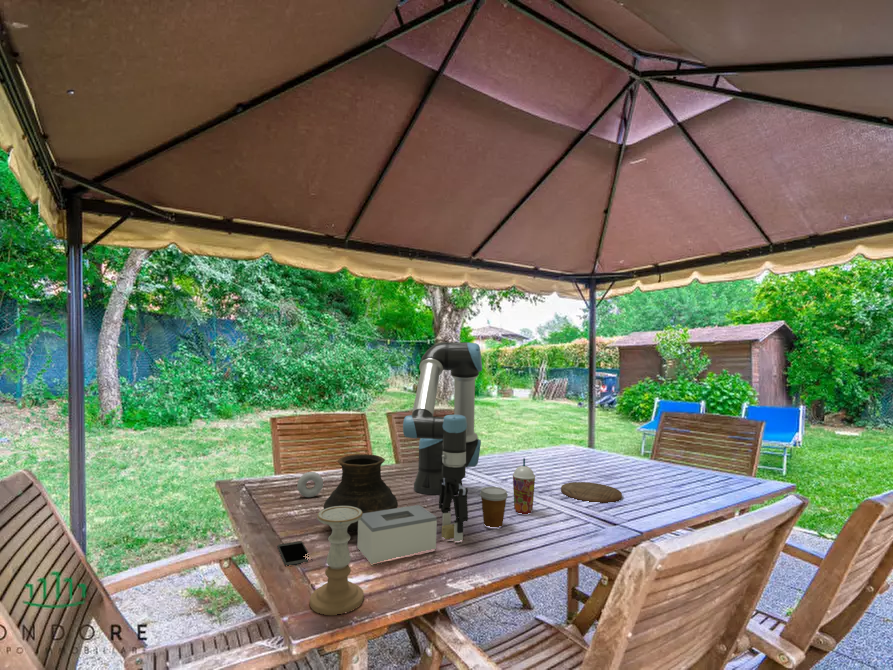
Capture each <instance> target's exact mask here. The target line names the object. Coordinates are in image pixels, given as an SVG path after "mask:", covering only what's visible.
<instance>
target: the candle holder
mask: <svg viewBox="0 0 893 670" xmlns="http://www.w3.org/2000/svg"><path fill="white" fill-rule="evenodd" d="M362 516H363V512H362V510H361V509H359V508H356V507H352V506H334V507H329V508H326V509H324V508H323V509H321V510H320V511H318V513H317V516H316V518H317V522H319V523H321V524H324V525H326V526H329V527H330V528H331V534H330V535H329V536H328V538H327V539H328V542H329V543H330V546H329V550H328V554H327V557H326V560H325V561H326V564H327V566H328V567H327V568H326V569H325V571H324V574H325V576H326V577H327V582H326V583H324V584H322V585H321V586H319V587H317V588H316V589H315V590H314V591H313V592H312V593H311V595H310V597H309V606H310V608H311V610H312V611H314V612H315V613H317V614H319V613H320V615H323V614H324V615H323V616H338V615H337V614H341V615H343V614H342V613H345V612H348V613H350V612H349V611H351V610H353V609H355V608H356V607H358V606H359V605H360V604H361V603H362V604H363V602H364V598H365V592H364V590H363V588H362V587H361V586H359V585H358V584H355V583H353V582H351V581H349V579H348V578H349V577H348V576H349V575H350V574H351V572H352V568H351V566H349V563H350V562H351V553H350V551H349V550H350V549H349V546H348V545H349V543H348V542H349V541H350V539H351V535H350V534H349V533H348V529H347V528H348V526H349V525H350V524H351V523H354V522H357V521H359V520H360V519H361V518H362ZM362 601H363V602H362ZM362 604H361V605H362ZM361 605H360V606H361ZM360 606H359V607H360ZM359 607H358V608H359ZM356 609H357V608H356ZM356 609H355V610H356ZM353 611H354V610H353ZM351 612H352V611H351ZM345 614H346V613H345Z"/></svg>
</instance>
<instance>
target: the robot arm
mask: <svg viewBox="0 0 893 670" xmlns="http://www.w3.org/2000/svg"><path fill="white" fill-rule="evenodd" d="M418 367H419V371H420V374H419V377H418V378H419V379H418V384H417V387H416V388H417V389H416V394H415V398H414V402H413V407H412V413H411V414H410V415H406V416H404V418H403V422H402V434H403V436H404V437H405V438H409V439H419V442H418V466H417V467H418V468H417V469H418V471H417V474H416V477H415V480H414V483H413V491H415V492H416V493H418V494H424V495H439V496H438V498H439V499H438V509H439V510H441V513H442V515H441V517H442V518H441V520H442V523H441V524H442V526H446V525H451V523H452V522H451V520H452V513H451V512H452V510H451V506H452V505H451V504H452V501H453V507H454V515H455V516H454V517H455V520H454V521H453V524H454V541H460V540H463V539H464V523H465V522H468V521H469V516H468V515H469V513H468V512H469V511H468V492H469V489H468V487H464V486H463V479H464V478H466V470H467V469H466V468H475V467H477V466H478V464H479V460H480V459H479V458H480V453H481V452H480V451H481V446H482V445H481V443H482V441H481V439H479V436H478V434H477V433H476V432H475V409H476V408H475V407H476V406H475V404H476V403H475V402H476V401H475V400H476V398H475V396H476V393H475V391H476V385H475V384H476V378H478V377H479V375H480V372H483V363H482V353H481V346H480V345H479V344H478V343H476V342H475V343H474V342H462V341H461V342H459V341H458V342H457V341H456V342H451V341H450V342H447V341H443V342H438V343H435V344H433V345H432V346H431V347H430V348H428V349H426V351H425V352H424V354H423V355H422V357H421V359H420V362H419V366H418ZM443 371H450V376H451V377H452V378H453V379H454V384H453V386H454V387H453V388H454V390H453V392H454V393H453V394H454V396H453V397H454V399H453V401H454V402H453V403H454V404H453V405H454V407H453V411H454V412H453V413H454V414H448V415H445V416H434V413H435V407H436V400H437V393H438V388H439V379H440V375H441V374H442V373H443ZM442 526H441V527H442ZM454 541H453V542H454Z"/></svg>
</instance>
